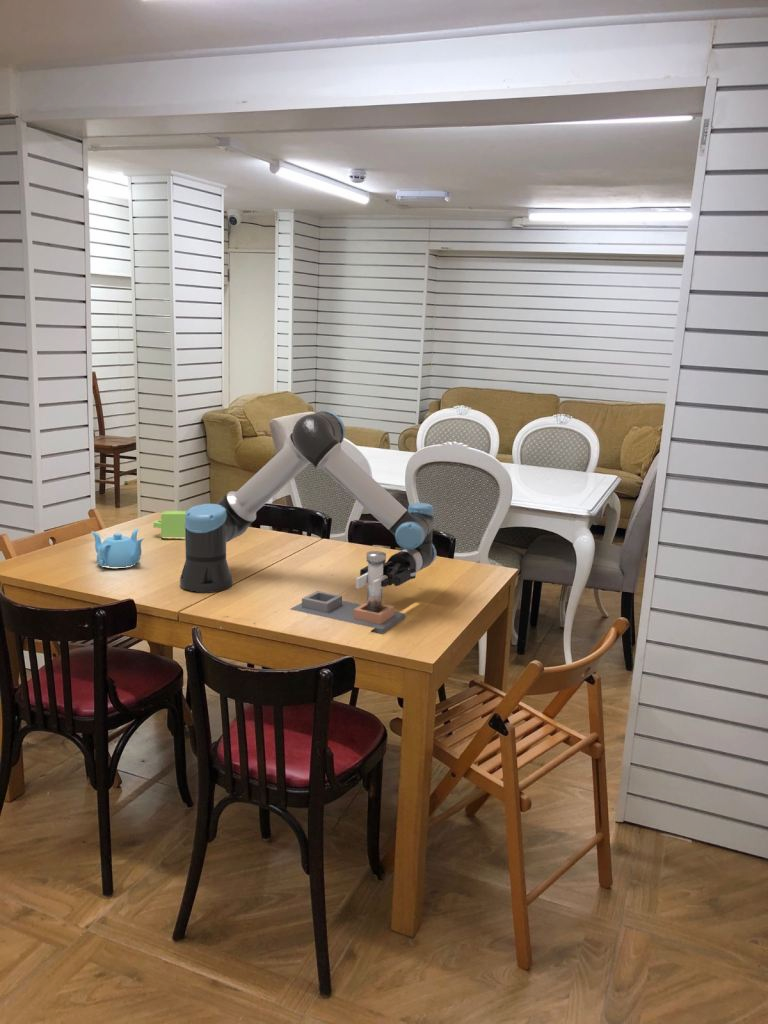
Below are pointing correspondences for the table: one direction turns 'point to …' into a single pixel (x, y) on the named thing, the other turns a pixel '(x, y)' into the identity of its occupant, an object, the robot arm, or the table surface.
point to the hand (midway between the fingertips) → (365, 585)
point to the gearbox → (172, 523)
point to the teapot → (118, 550)
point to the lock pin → (374, 572)
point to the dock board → (349, 611)
